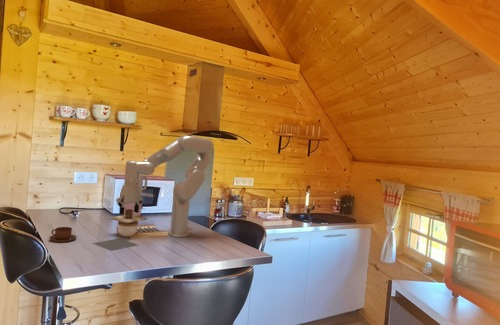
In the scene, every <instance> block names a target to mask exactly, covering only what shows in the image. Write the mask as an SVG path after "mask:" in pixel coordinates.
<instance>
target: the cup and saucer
mask: <svg viewBox="0 0 500 325" xmlns="http://www.w3.org/2000/svg"><path fill="white" fill-rule="evenodd" d="M72 230H73V229H72V227H68V226H60V227H56V228H55V229H52V230H51V235H50V236H49V238H48V239H49V240H50V241H51V242H56V243H68V242H72V241H74V240H76V239H77V235H76V234H72Z"/></svg>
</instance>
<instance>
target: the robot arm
mask: <svg viewBox="0 0 500 325" xmlns="http://www.w3.org/2000/svg"><path fill="white" fill-rule="evenodd" d="M214 147H215V146H214V143H213V141H212V140H210V139H208V138H203V137H196V136H191V135H181V136H178V138H176V139H175V140H173V141H172V142H170V143H169V144H167V145H165V146H164V147H162V148H161V149H159V150H158V151H156V152H155V153H152V154H151V155H149V156H148V157H146V158H145V159H144V160H142V161H138V160H127V161H126V162H125V169H124V170H125V172H124V173H125V174H124V183H123V184H122V186H121V191H120V196H119V197H118V198H116V199H115V202H116V204H117V205H118V207H119V210H118V211H119V212H118V213H119V215H121V216H122V215H123V214H124V206H125V204H129V203H135V206H134V212H136V213H138V212H139V206H140V204H141V203H142V202H143V200H144V197H143V196H142V195H141V196H140V189H139V185H138V184H139V183H140V181H139V174H143V176H150V175H152V174H153V173H154V172H155V169H156V167H159V166H160V165H162V164H164V163H168V162H171V161H172V160H174V159H176V158H177V157H178V156H180V155H181V154H183V153H184V152H186V151H188V152H193V153H194V152H195V153H196V156H195V158H194V160H193V162H192V163H191V164H190V166H189V167H188V169H187V170H186V171H185V174H184V178H185V180H184V181H180V182H179V181H178V182H177V183H176V184H175V185H174V186H173V188H172V189H173V190H172V191H173V192H172V194H173V196H172V198H173V199H172V203H173V204H172V213H171V223H170V226H171V227H170V230H169V231H168V232H167V235H168V236H170V237H175V238H185V237H189V236H190V232H189V231H191V230H193V226H188V223H189V222H188V220H189V210H190V200H192V198H194V197H195V196H196V193H197V192H198V191H199V190H200V188H201V187H202V185H203V183H204V181H205V179H206V174H205V170H206V169H207V167H208V165H209V163H210V162H211V161H210V160H211V152H213V150H214ZM139 198H140V200H139ZM142 204H143V203H142Z"/></svg>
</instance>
